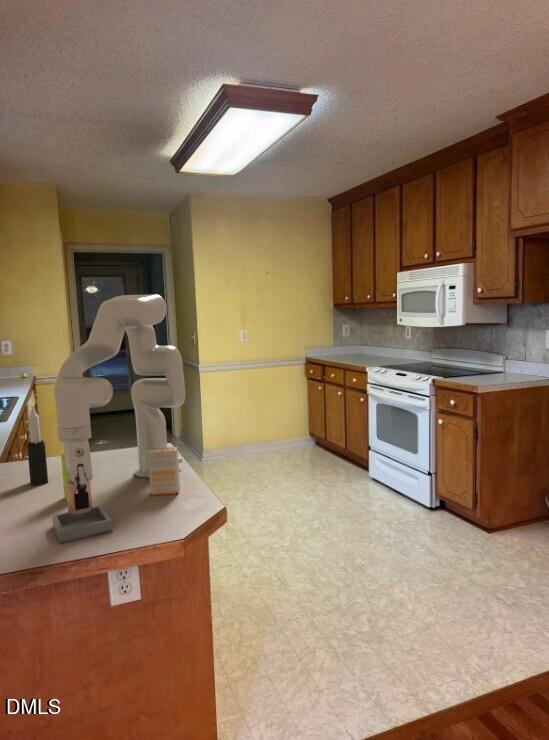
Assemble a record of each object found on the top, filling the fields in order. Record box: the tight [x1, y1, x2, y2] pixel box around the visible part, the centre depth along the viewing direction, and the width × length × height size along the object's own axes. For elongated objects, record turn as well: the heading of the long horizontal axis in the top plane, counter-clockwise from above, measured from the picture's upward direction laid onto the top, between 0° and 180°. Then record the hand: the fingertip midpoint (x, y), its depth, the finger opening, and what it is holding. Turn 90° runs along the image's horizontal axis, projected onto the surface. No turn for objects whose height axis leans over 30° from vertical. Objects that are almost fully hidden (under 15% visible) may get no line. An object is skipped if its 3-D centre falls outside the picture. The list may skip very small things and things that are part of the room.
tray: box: [51, 504, 113, 545], centre depth 129 cm, size 12×12×3 cm
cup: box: [66, 476, 93, 514], centre depth 128 cm, size 6×6×8 cm
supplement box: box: [148, 446, 181, 496], centre depth 153 cm, size 8×5×13 cm, turn 94°
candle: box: [26, 405, 49, 486], centre depth 166 cm, size 5×5×25 cm
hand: (79, 504), depth 128 cm, fingers closed on cup, 5 cm apart
